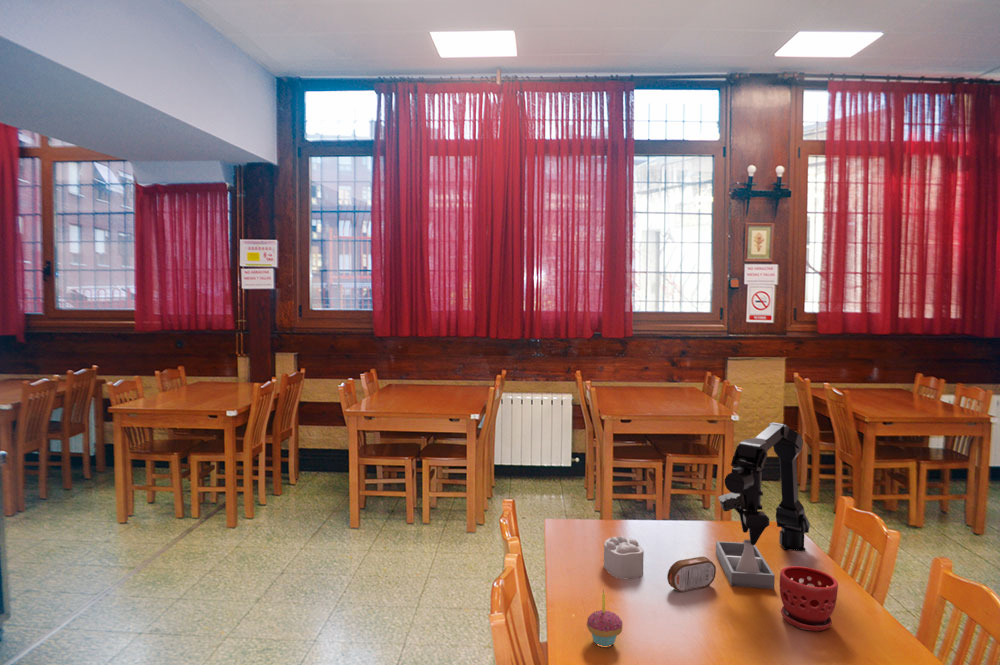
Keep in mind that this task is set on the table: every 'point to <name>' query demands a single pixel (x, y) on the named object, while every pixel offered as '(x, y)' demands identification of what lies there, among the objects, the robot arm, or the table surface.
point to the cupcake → (604, 625)
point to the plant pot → (807, 597)
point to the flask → (748, 559)
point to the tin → (691, 574)
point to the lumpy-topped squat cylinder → (623, 557)
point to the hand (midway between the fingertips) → (748, 538)
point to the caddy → (729, 560)
